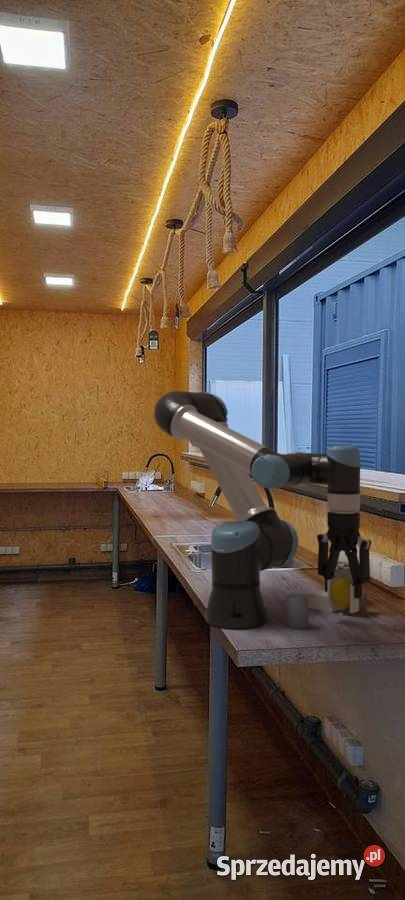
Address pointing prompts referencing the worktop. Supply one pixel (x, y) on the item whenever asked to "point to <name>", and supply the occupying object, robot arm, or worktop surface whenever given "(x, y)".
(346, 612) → the walnut cube
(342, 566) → the food container
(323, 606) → the off-white brick
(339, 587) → the lemon
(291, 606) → the slate cylinder
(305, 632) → the worktop surface
